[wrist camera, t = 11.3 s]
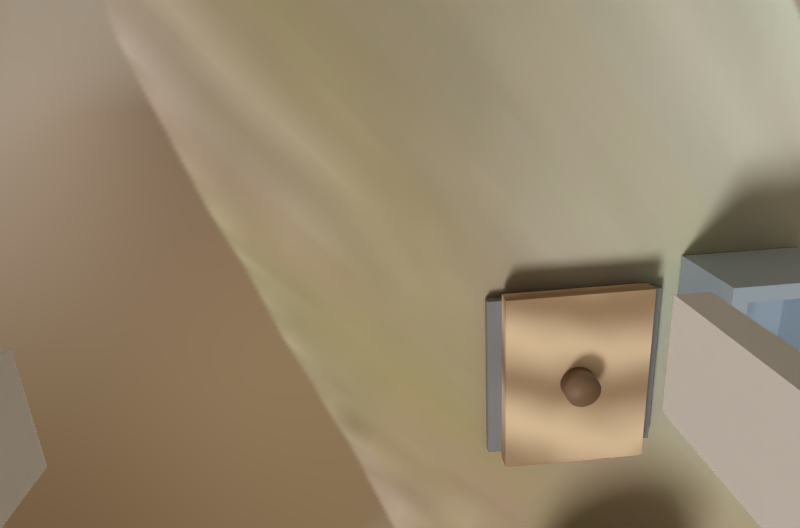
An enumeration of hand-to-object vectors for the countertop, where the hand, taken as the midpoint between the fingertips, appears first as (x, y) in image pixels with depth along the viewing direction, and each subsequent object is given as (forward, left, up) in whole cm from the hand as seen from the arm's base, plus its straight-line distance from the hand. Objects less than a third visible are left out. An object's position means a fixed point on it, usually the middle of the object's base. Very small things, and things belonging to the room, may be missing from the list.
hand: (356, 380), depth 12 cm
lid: (+16, +14, -26) cm, 34 cm away
